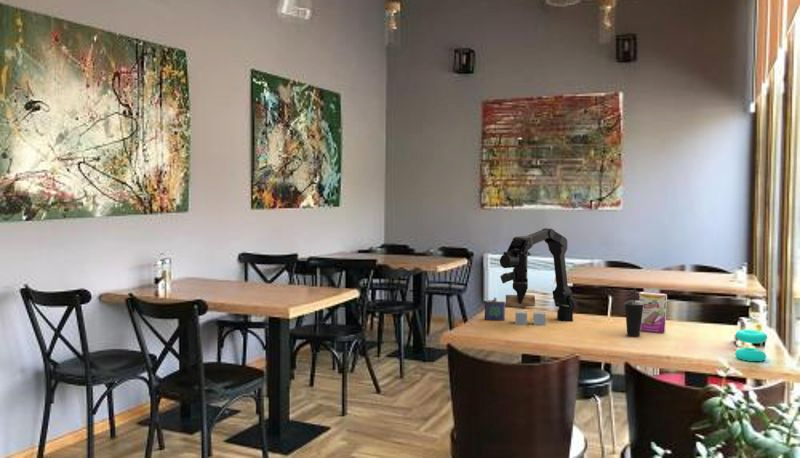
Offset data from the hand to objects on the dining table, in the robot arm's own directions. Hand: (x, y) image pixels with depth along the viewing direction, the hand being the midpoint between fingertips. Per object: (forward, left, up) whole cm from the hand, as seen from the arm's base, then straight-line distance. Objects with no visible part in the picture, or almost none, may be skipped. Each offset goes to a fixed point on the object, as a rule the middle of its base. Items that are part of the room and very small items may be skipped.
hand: (520, 302), depth 294 cm
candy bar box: (-55, -9, -12) cm, 58 cm away
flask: (+11, -17, -12) cm, 24 cm away
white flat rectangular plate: (-5, -12, -12) cm, 17 cm away
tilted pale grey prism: (-1, -12, -11) cm, 17 cm away
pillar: (-8, -12, -11) cm, 19 cm away
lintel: (0, 0, -1) cm, 1 cm away
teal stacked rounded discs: (-83, +33, -12) cm, 90 cm away
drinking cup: (-47, +2, -12) cm, 48 cm away
